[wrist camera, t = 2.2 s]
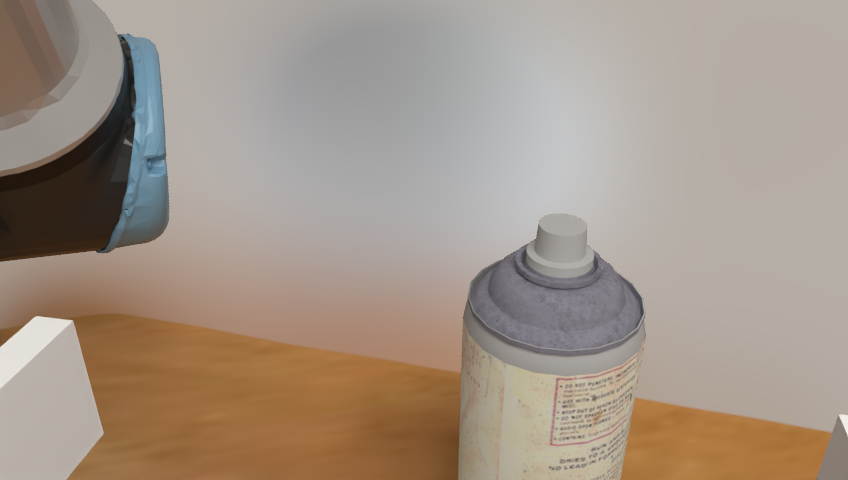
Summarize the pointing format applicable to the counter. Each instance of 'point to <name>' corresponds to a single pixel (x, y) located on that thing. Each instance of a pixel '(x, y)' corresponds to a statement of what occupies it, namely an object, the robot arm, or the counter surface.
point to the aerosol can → (549, 362)
